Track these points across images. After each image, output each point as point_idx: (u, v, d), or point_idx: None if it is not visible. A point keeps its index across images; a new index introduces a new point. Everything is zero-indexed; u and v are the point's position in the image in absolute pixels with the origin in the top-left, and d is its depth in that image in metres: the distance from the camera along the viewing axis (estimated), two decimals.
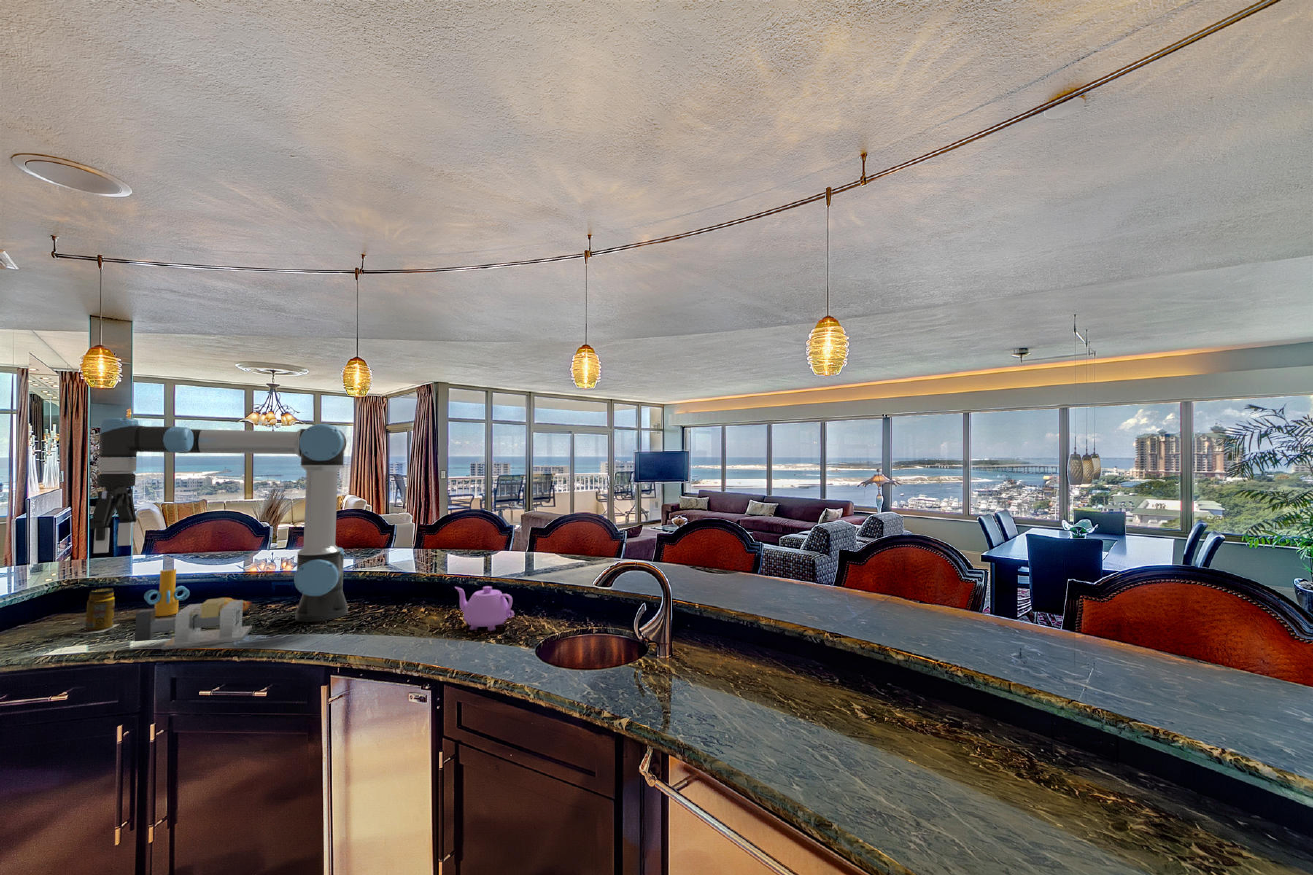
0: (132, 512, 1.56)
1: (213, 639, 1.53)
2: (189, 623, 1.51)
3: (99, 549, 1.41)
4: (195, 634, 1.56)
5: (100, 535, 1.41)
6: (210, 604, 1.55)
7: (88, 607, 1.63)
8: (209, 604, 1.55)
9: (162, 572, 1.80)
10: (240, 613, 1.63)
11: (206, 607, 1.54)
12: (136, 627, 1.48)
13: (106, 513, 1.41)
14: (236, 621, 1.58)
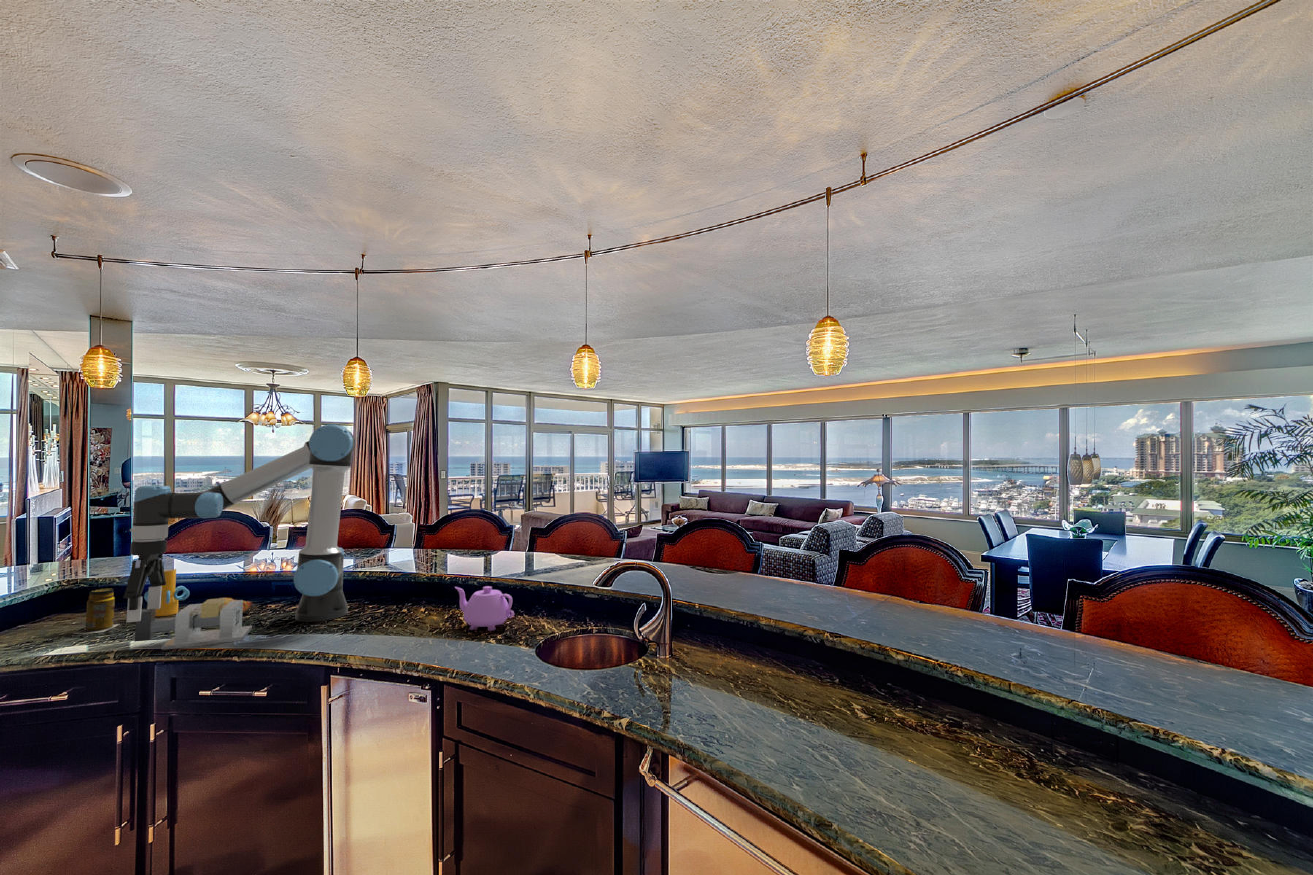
0: (162, 575, 1.59)
1: (213, 639, 1.53)
2: (189, 623, 1.51)
3: (131, 618, 1.44)
4: (195, 634, 1.56)
5: (133, 605, 1.43)
6: (210, 604, 1.55)
7: (88, 607, 1.63)
8: (209, 604, 1.55)
9: None
10: (240, 613, 1.63)
11: (206, 607, 1.54)
12: (136, 627, 1.48)
13: (139, 583, 1.44)
14: (236, 621, 1.58)
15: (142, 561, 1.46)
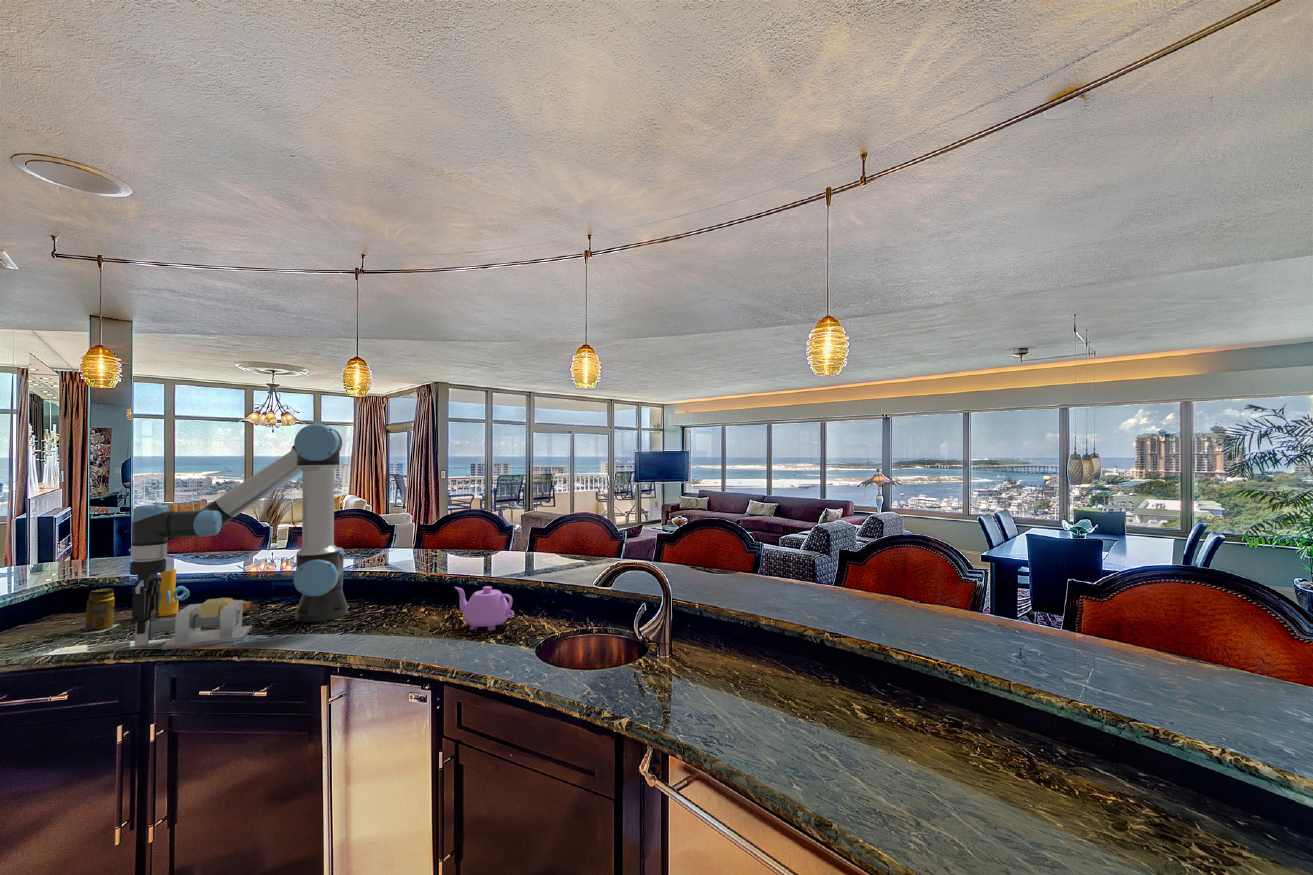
0: (156, 603, 1.55)
1: (213, 639, 1.53)
2: (189, 623, 1.51)
3: (139, 642, 1.48)
4: (195, 634, 1.56)
5: (141, 628, 1.47)
6: (210, 604, 1.55)
7: (88, 607, 1.63)
8: (209, 604, 1.55)
9: (162, 572, 1.80)
10: (240, 613, 1.63)
11: (206, 607, 1.54)
12: None
13: (144, 607, 1.47)
14: (236, 621, 1.58)
15: (141, 588, 1.45)
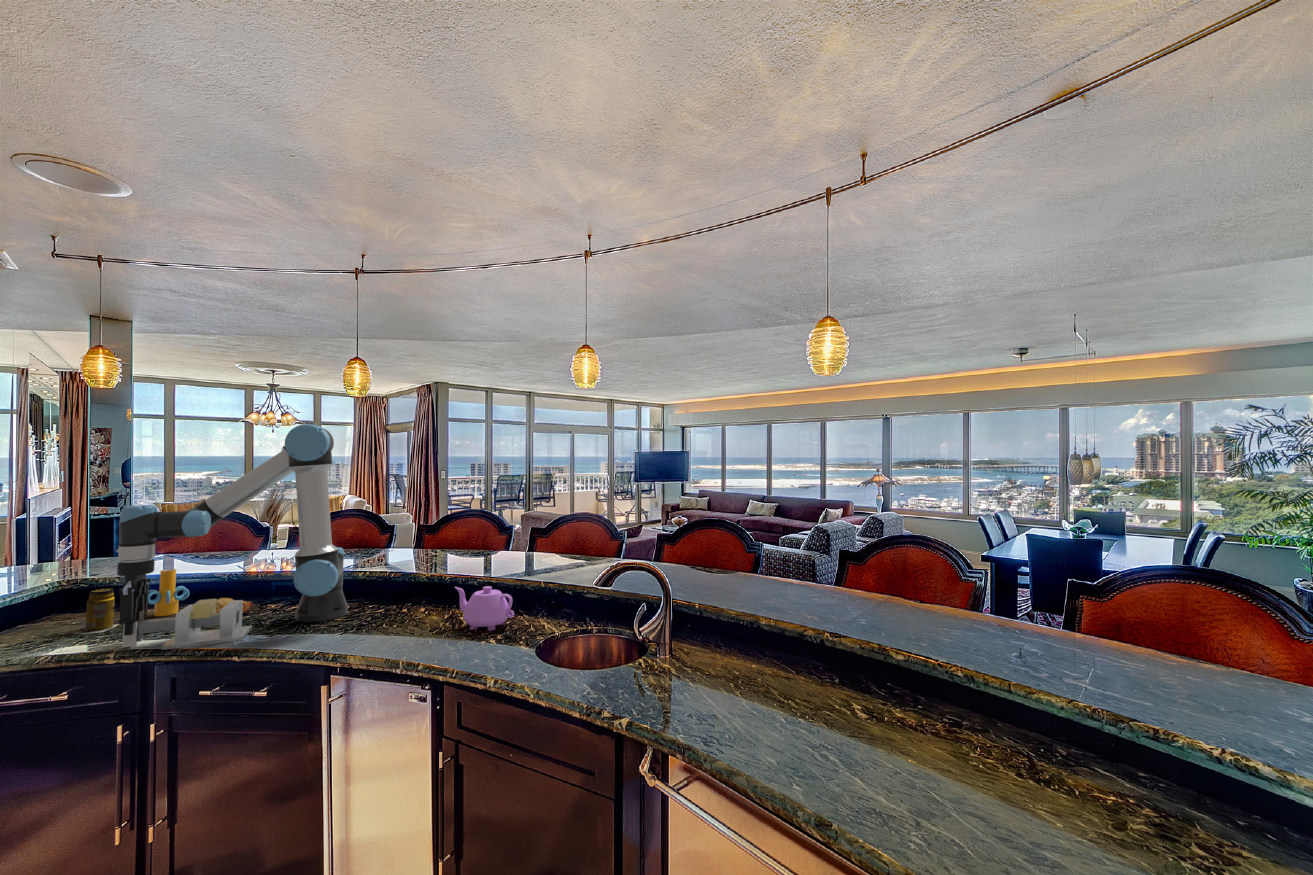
0: (145, 604, 1.54)
1: (213, 639, 1.53)
2: (189, 623, 1.51)
3: (127, 643, 1.47)
4: (195, 634, 1.56)
5: (129, 630, 1.46)
6: (201, 605, 1.54)
7: (88, 607, 1.63)
8: (200, 605, 1.54)
9: (162, 572, 1.80)
10: (240, 613, 1.63)
11: (197, 608, 1.53)
12: None
13: (132, 609, 1.46)
14: None
15: (129, 589, 1.44)
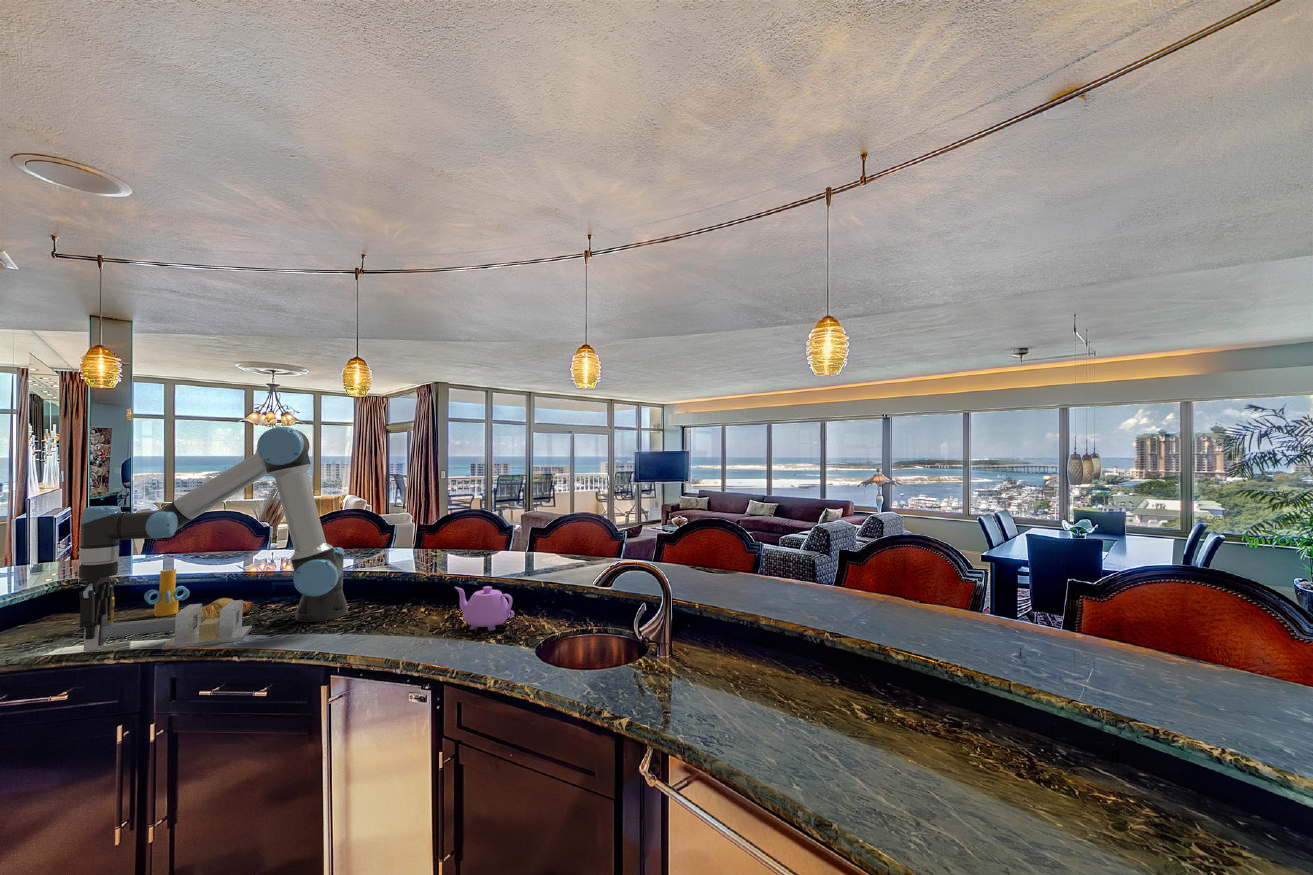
0: (108, 607, 1.50)
1: (213, 639, 1.53)
2: (189, 623, 1.51)
3: (88, 647, 1.43)
4: (195, 634, 1.56)
5: (90, 634, 1.43)
6: (214, 630, 1.55)
7: None
8: (215, 629, 1.55)
9: (162, 572, 1.80)
10: (240, 613, 1.63)
11: (211, 627, 1.55)
12: None
13: (93, 612, 1.42)
14: None
15: (90, 592, 1.41)
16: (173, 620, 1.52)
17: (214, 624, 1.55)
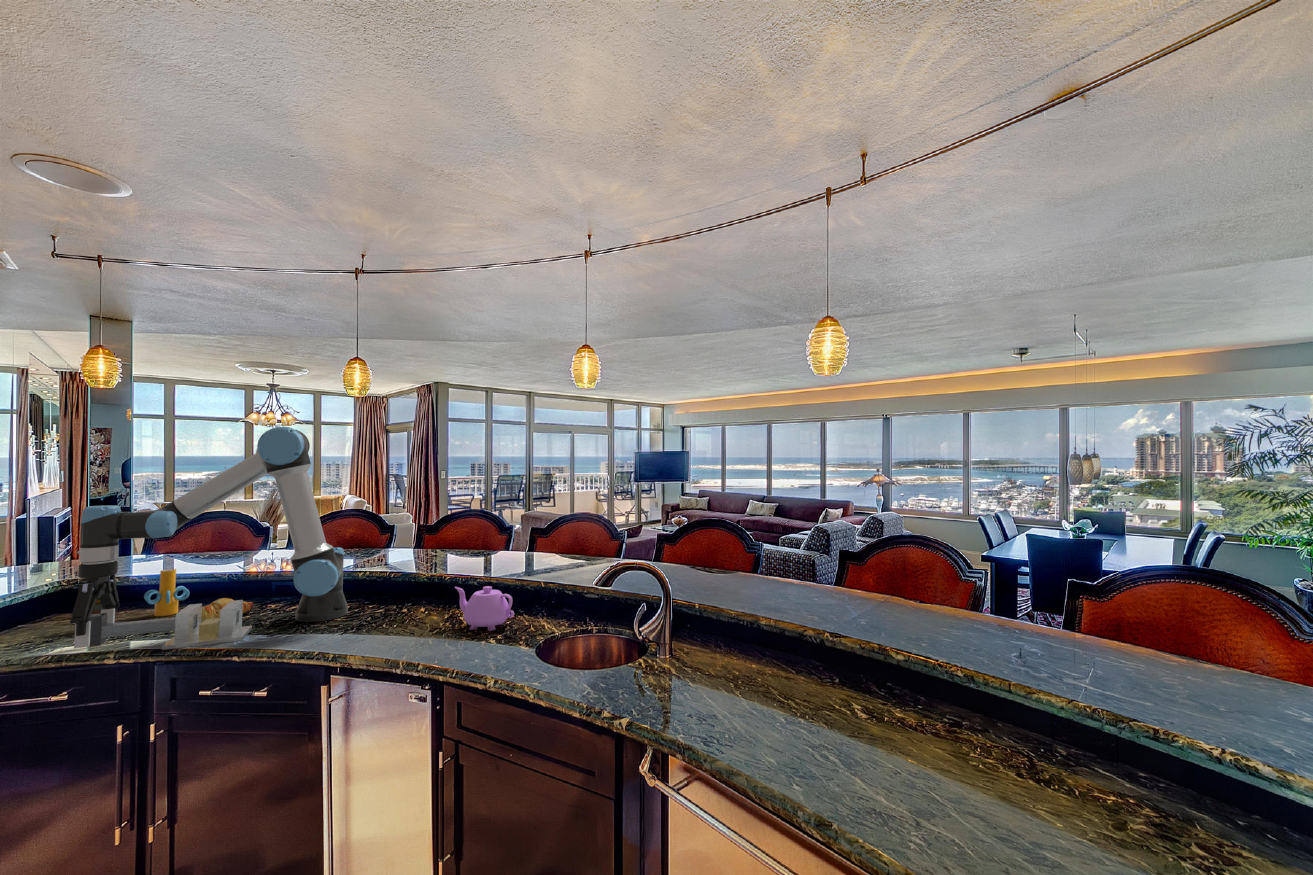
0: (115, 597, 1.54)
1: (213, 639, 1.53)
2: (189, 623, 1.51)
3: (79, 644, 1.39)
4: (195, 634, 1.56)
5: (81, 630, 1.38)
6: (214, 630, 1.55)
7: None
8: (215, 629, 1.55)
9: (162, 572, 1.80)
10: (240, 613, 1.63)
11: (211, 627, 1.55)
12: None
13: (87, 607, 1.39)
14: None
15: (89, 585, 1.41)
16: (173, 620, 1.52)
17: (214, 624, 1.55)
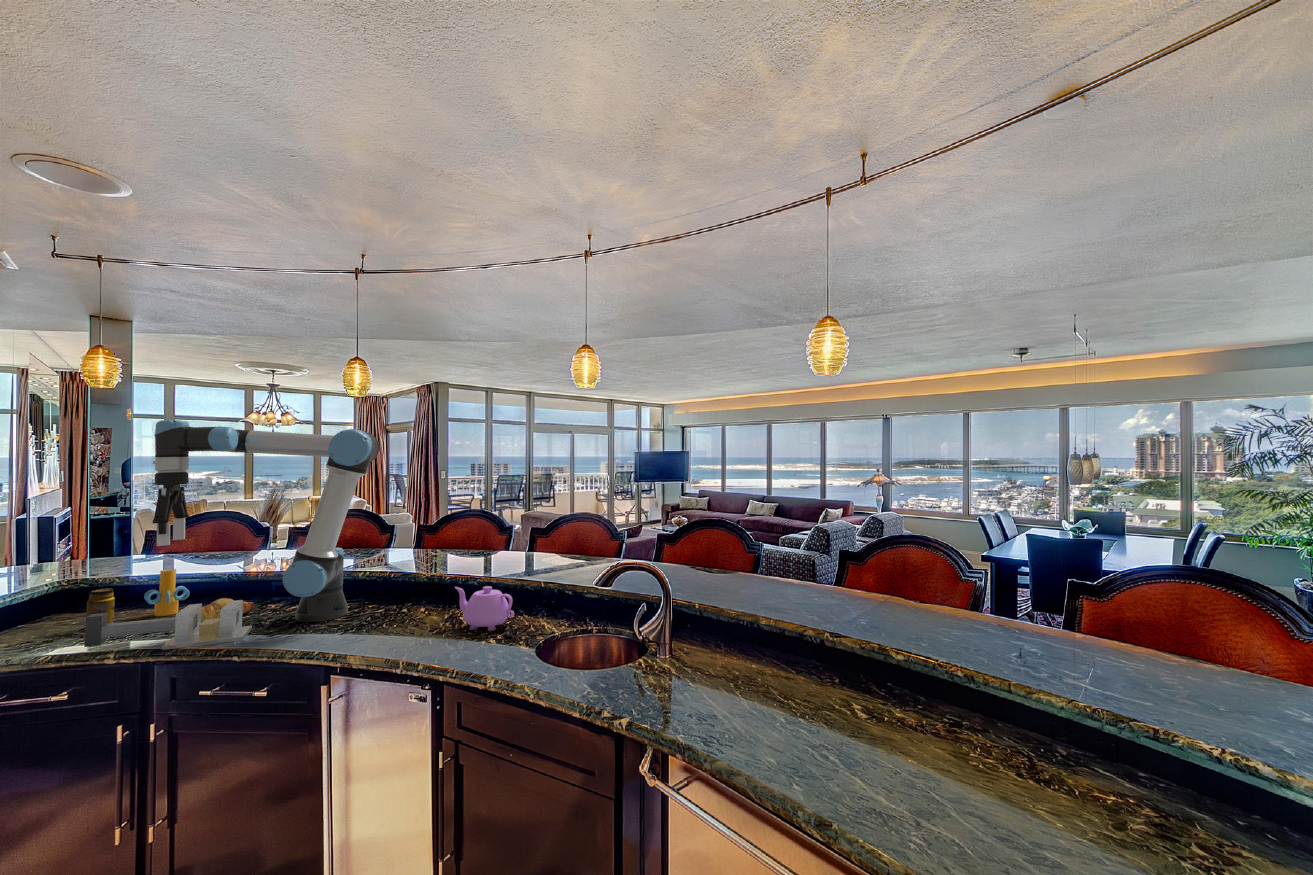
0: (184, 508, 1.66)
1: (213, 639, 1.53)
2: (189, 623, 1.51)
3: (161, 542, 1.52)
4: (195, 634, 1.56)
5: (162, 529, 1.51)
6: (214, 630, 1.55)
7: (88, 607, 1.63)
8: (215, 629, 1.55)
9: (162, 572, 1.80)
10: (240, 613, 1.63)
11: (211, 627, 1.55)
12: (86, 632, 1.44)
13: (167, 508, 1.52)
14: None
15: (167, 489, 1.53)
16: (173, 620, 1.52)
17: (214, 624, 1.55)
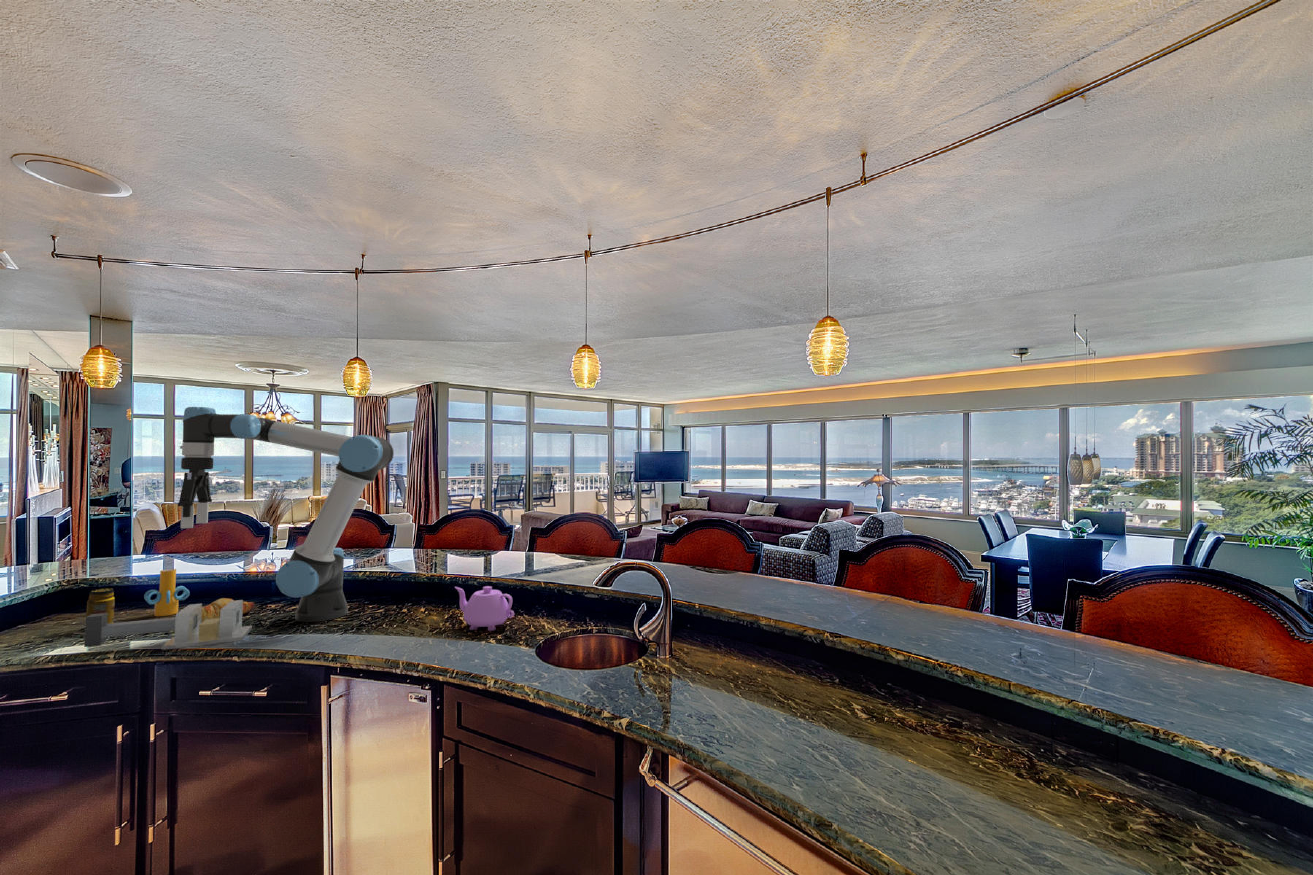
0: (208, 493, 1.71)
1: (213, 639, 1.53)
2: (189, 623, 1.51)
3: (185, 525, 1.57)
4: (195, 634, 1.56)
5: (187, 512, 1.56)
6: (214, 630, 1.55)
7: (88, 607, 1.63)
8: (215, 629, 1.55)
9: (162, 572, 1.80)
10: (240, 613, 1.63)
11: (211, 627, 1.55)
12: (86, 632, 1.44)
13: (192, 492, 1.57)
14: None
15: (193, 473, 1.58)
16: (173, 620, 1.52)
17: (214, 624, 1.55)
